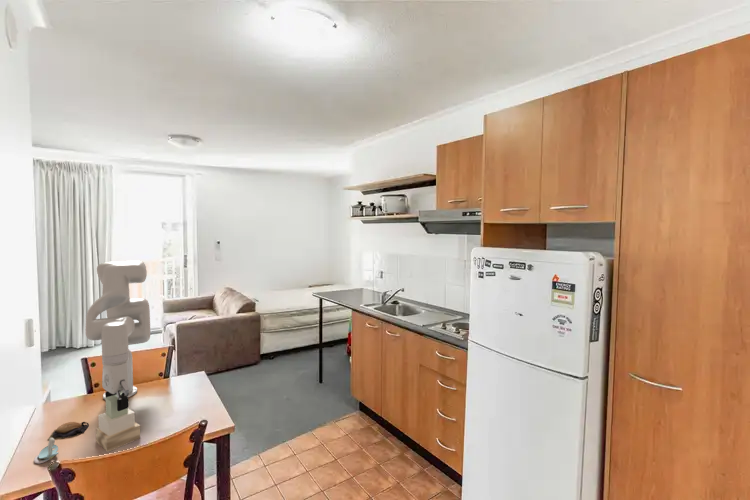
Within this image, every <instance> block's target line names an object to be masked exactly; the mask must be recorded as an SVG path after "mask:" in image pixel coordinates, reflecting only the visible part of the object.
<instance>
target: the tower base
mask: <svg viewBox="0 0 750 500" xmlns="http://www.w3.org/2000/svg"><path fill="white" fill-rule="evenodd" d="M139 439H141V425H140V424H139V423H138V422H136V421H135V426H133V427H131V428H128V429H126V430H123V431H121V432H118V433H116V434H114V435H111V436H108V435H106V434H105V433H104V432H102V431H101V430H100V429H99V427H96V428H95V441H96V442H95V443H97V444H98V445H99V446H100V447H101V448H102V449H103V450H104V451H106V453H108V452H111V451H113V450H116V449H118V448H121V447H122V446H125V445H128V444H130V443H132V442H134V441H137V440H139Z"/></svg>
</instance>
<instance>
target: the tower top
mask: <svg viewBox="0 0 750 500" xmlns="http://www.w3.org/2000/svg"><path fill="white" fill-rule="evenodd" d="M97 418H98V428H99V429H100V430H101V431H102V432H104V433H105V434H106V435H108V436H111V435H114V434H116V433H118V432H121V431H123V430H126V429H128V428H131V427H133V426H135V422H136V421H135V419H136V418H135V411H133V410H131V409H130V408H128V413H127V414H124V415H121V416H119V417H116V418H113V419H111V418H110V417H109V416H107V415H106V412H104V413H99V414H98V417H97Z"/></svg>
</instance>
